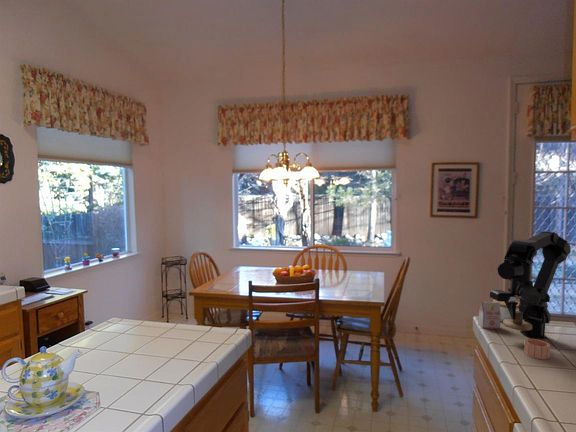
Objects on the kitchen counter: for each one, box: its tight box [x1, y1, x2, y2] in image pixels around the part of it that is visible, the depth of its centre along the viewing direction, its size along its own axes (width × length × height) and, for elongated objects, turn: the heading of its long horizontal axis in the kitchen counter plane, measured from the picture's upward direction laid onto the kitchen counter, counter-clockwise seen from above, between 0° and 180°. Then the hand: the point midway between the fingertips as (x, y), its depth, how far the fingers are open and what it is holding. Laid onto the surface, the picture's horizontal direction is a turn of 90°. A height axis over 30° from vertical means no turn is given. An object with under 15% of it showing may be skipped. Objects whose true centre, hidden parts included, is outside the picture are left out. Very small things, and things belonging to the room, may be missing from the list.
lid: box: [502, 311, 532, 331], centre depth 138 cm, size 9×9×5 cm
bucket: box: [523, 338, 551, 360], centre depth 128 cm, size 7×7×4 cm
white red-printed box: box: [477, 301, 501, 330], centre depth 153 cm, size 4×7×10 cm, turn 88°
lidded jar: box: [492, 298, 520, 322], centre depth 162 cm, size 11×11×9 cm
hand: (517, 319), depth 138 cm, fingers closed on lid, 3 cm apart
